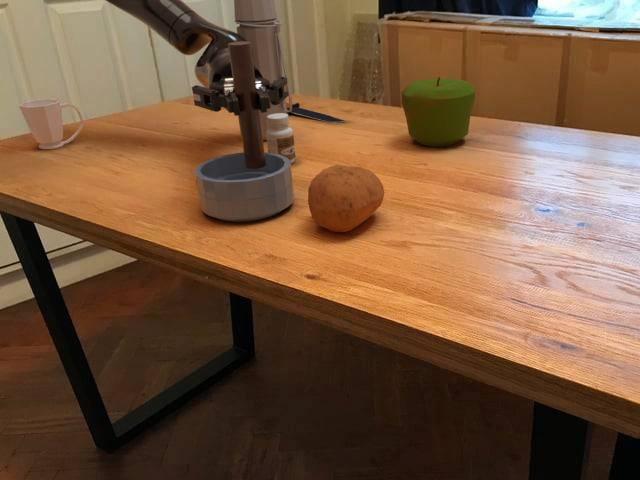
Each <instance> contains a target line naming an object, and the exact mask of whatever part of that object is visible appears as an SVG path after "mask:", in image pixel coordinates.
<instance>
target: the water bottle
mask: <svg viewBox="0 0 640 480" xmlns="http://www.w3.org/2000/svg"><path fill="white" fill-rule="evenodd" d="M233 6H234V7H233V9H234V23H235V24H236V25H238V26H236V33H237V34H239V35H241V36H242V37H244V38H245V39H246V40H247V41H248V42H250V43H251V48H252V51H253V64H254V65H255V66H256V67H257V68H258V70H259V71H260V73H261V74H262V76H263V78H265V79H268V80H269V82H270V83H273V82H274V80H275V79H276V80H277V79H278V78H281V77H286V78H287V83H288V93H289V96H288V103H289V111H287V108H286V103H287V102H286V101H287V100H286V99H284V100H283V101H282V102H281V103H280V104H278V105H272V104H271V102H270V104H271V108H270V109H267V112H265V113H261V111H260V110H259V113H260V121H261V128H262V136H263V141H267V138H266V131H267V130H268V129H269V128H270V126H268V123H267V116H268V115H271V114H276V113H284V114H287V112H291V111H292V104H293V95H292V91H291V86H290V80H289V76H288V71H287V65H286V60H285V59H286V58H285V55H284V50H283V45H282V39H281V34H280V33H281V26H282V25H283V21H282V20H279V19H278V14H277V9H276V4H275V0H233ZM283 73H284V74H283ZM287 115H288V114H287Z"/></svg>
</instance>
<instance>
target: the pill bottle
mask: <svg viewBox="0 0 640 480" xmlns="http://www.w3.org/2000/svg"><path fill="white" fill-rule="evenodd" d="M267 123H268V126H270V128H269V129H268V130H267V131H266V138H267V140H266V144H267V145H266V146H267V152H269V153H275V154H279V155H282V156H284V157H287V158H288V159H289V161H290V162H291V165H292V164H294V163H295V162H296V160H297V159H296V152H295V151H296V150H295V149H296V148H295V136H294V130H293V128H292V127H290V126H289V125H290V120H289V114H284V113H276V114H271V115H268V116H267Z"/></svg>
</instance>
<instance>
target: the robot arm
mask: <svg viewBox="0 0 640 480" xmlns="http://www.w3.org/2000/svg"><path fill="white" fill-rule="evenodd" d="M105 1H106V2H107V3H109V4H110V5H112V6H114V7H116V8H117V9H119V10H121V11H122V12H125V13H127V14H128V15H130V16H132V17H133V18H134V19H136V20H138V21H139V22H141V23H142V24H144V25H145V26H147V27H148V28H150V29H151V30H152V31H154V33H156V34H157V35H158V36H159V37H160V38H162V39H163V40H164V41H165V42H167V43H168V44H169V45H170V46H172V48H174V49H175V50H176V51H178V52H179V53H180V54H182V55H184V56H194V55H195V54H196V53H199V52H200V51H201V50H202V49H203V48H205V49H204V51H203V52H202V54H201V55H200V57H199V58H198V60H197V61H196V63H195V65H194V75H195V78H196V79H197V81H198V82H199V83H200V84H201V85H202V86H201V85H198V84H197V85H194V86H191V92H192V98H193V102H194V106H196V107H199V108H202V109H205V110H208V111H211V112H215V113H218V112H220V111H222V108H223V109H225V110H226V111H227V112H228V113H229V114H233V115H234V117H238V116H239V115H240V108H239V101H238V97H237V96H236V94H235V90H234V83H233V76H232V69H231V62H230V55H229V48H228V44H229V43H232V42H241V41H246V42H248V41H247V40H246V39H245V38H244V37H242V36H241V35H239V34H237V32H235V31H232V30H230V29H227V28H226V27H225V28H224V27H222V26H219V25H218V24H217V25H216V24H215V23H213V22H211V21H208V20H207V19H205V18H203V17H202V16H201V15H200V14H199V13H197V12H196V11H195V10H194V9H192V8H191V7H190V6H188V5H187V4H186V3H185V2H184V1H182V0H105ZM251 50H252V48H251ZM252 58H253V51H252ZM253 66H254V74H255V82H256V89H257V97H258V105H259V110H260V111H261V113H265V112H267V109H270V108H271V104H272V105H278V104H280V103H281V102H282V101H283V100H284V99H285V100H287V98H289V93H288V83H287V78H286V77H285V76H283V77H281V78H278V79H277V80H276V79H275V80H274V82H273V83H270V82H269V80H268V79H265V78H263V76H262V74H261V73H260V71H259V70H258V68H257V67H256V66H255V65H254V64H253ZM270 102H271V104H270Z"/></svg>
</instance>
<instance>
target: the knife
mask: <svg viewBox="0 0 640 480" xmlns="http://www.w3.org/2000/svg"><path fill="white" fill-rule="evenodd" d="M300 106H301V105H300V103H299V102H296V103H294V104H293V103H292V111H291V112H287V115H289V114H295V115H299V116H302V117H306V118H311V119H314V120H318V121H322V122H326V123H343V122H346V120H345V119H341V118H338V117H335V116H333V115H329V114H326V113H321V112H317V111H314V110H310V109H306V108H302V107H300ZM286 108H287V111H289V102H286Z"/></svg>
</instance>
